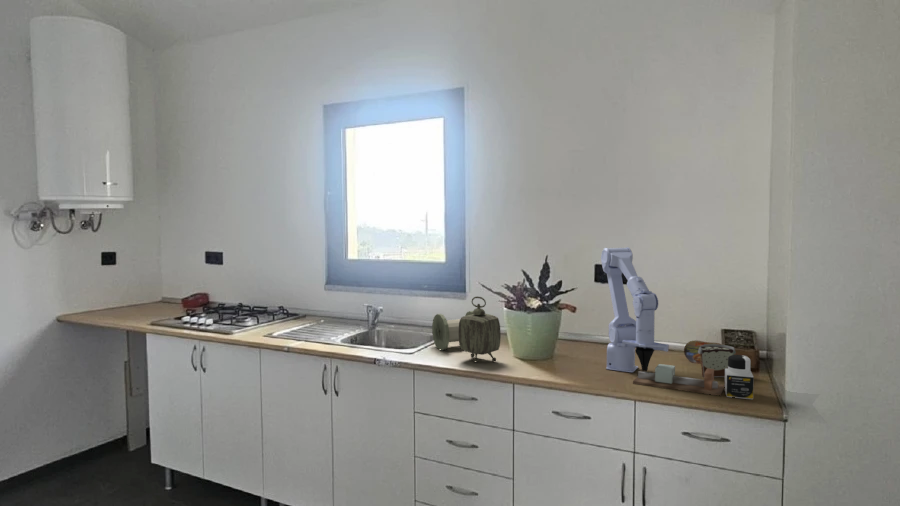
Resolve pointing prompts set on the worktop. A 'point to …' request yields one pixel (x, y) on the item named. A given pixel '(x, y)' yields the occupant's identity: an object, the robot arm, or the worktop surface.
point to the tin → (695, 350)
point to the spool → (445, 330)
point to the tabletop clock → (479, 332)
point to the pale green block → (664, 373)
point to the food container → (715, 358)
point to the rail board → (684, 383)
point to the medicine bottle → (739, 377)
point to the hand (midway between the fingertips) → (644, 370)
